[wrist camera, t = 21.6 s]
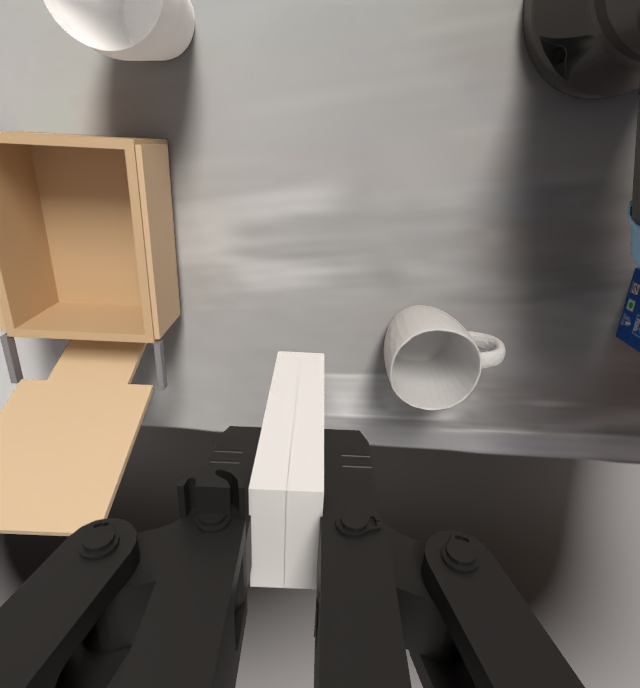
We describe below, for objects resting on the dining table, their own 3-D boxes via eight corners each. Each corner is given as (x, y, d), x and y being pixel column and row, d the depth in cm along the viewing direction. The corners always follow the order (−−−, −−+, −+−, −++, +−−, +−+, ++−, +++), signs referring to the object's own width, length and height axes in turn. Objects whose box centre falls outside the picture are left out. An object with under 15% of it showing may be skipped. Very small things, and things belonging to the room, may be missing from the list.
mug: (376, 367, 56) (387, 412, 47) (378, 295, 52) (390, 329, 43) (483, 365, 56) (515, 410, 47) (493, 293, 52) (529, 326, 43)
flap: (-74, 526, 36) (-69, 530, 36) (97, 534, 36) (100, 537, 36) (50, 334, 51) (52, 339, 52) (169, 339, 51) (170, 344, 52)
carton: (18, 131, 46) (-51, 129, 37) (173, 139, 46) (139, 139, 38) (59, 345, 55) (11, 383, 47) (188, 351, 55) (164, 390, 47)
